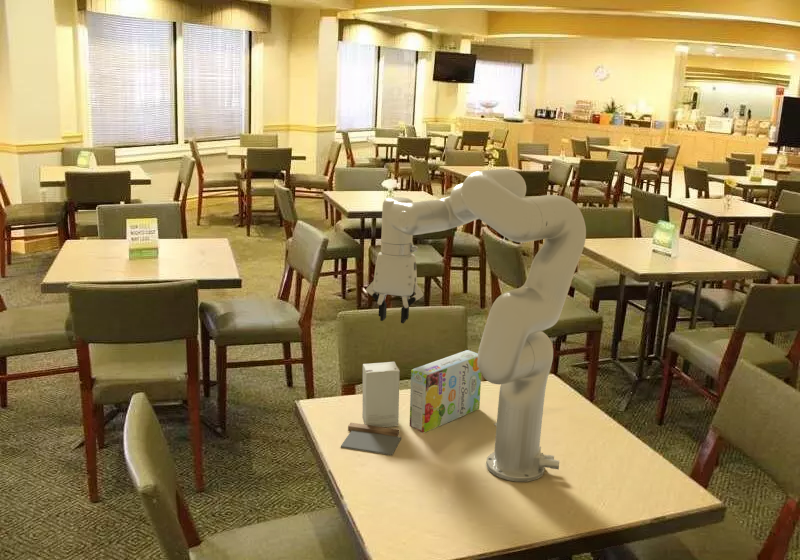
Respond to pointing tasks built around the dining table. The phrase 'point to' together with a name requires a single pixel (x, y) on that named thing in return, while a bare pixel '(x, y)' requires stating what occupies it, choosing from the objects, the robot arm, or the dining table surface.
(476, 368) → the snack box
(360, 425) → the rail
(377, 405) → the skincare box
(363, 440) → the mat
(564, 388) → the dining table surface
